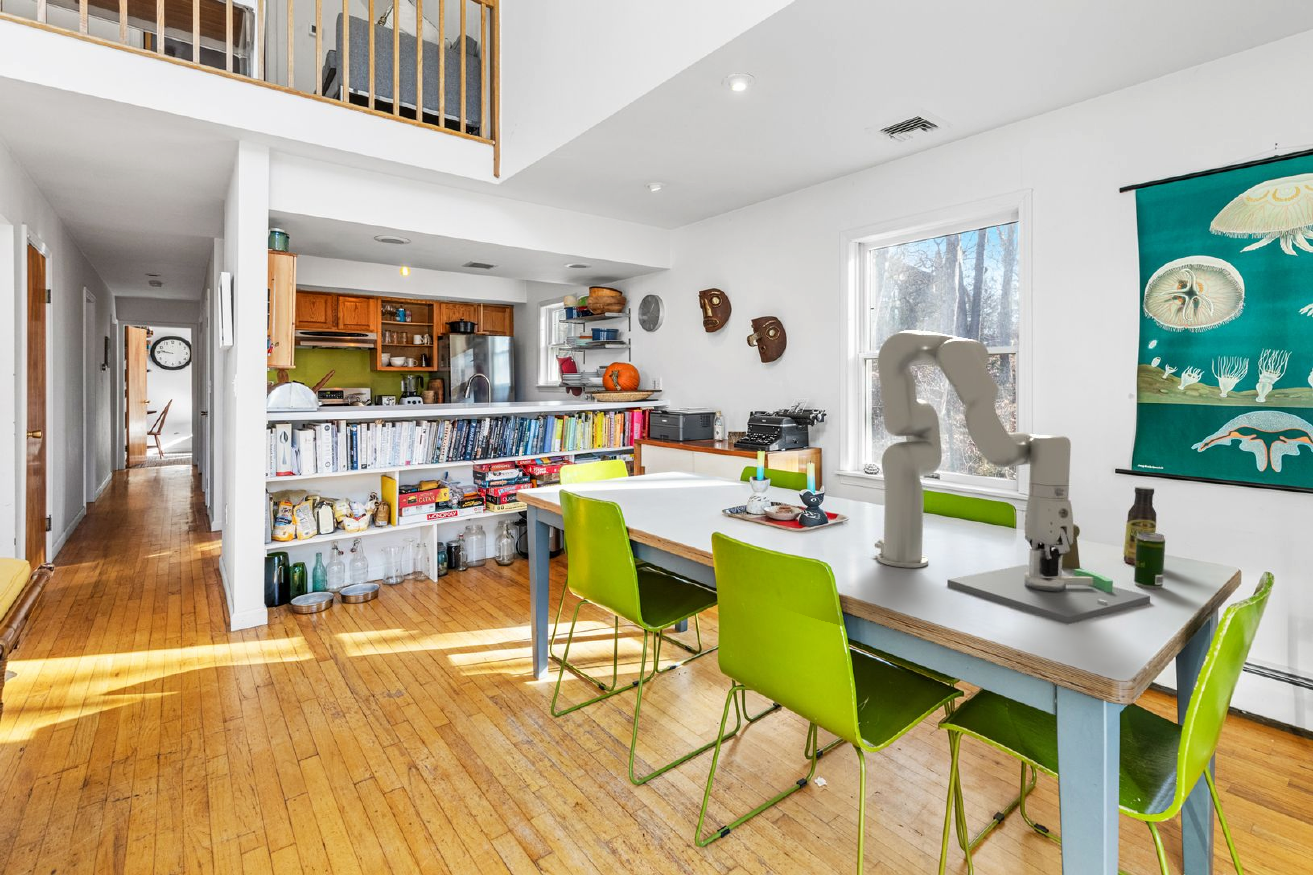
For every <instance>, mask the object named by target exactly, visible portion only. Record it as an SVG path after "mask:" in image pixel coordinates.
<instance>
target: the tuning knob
mask: <svg viewBox="0 0 1313 875" xmlns="http://www.w3.org/2000/svg"><path fill="white" fill-rule="evenodd" d="M1053 549H1054V548H1052V550H1053ZM1062 556H1063V554H1062V555H1061V558H1060V559H1059V566H1058V576H1053V577H1045V576H1043V560H1044V558H1046V549H1032V548H1029V562H1028V565H1029V572H1027V573H1025V574H1024V584H1025V585H1026V586H1028V587H1031V588H1034V589H1039V590H1045V591H1063V590H1065V589H1066V585H1093V578H1092V577H1074V576H1073V577H1071V576H1072V575H1069V576H1062V574H1063V572H1062V571H1063V568H1062Z"/></svg>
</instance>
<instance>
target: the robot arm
mask: <svg viewBox="0 0 1313 875" xmlns="http://www.w3.org/2000/svg"><path fill="white" fill-rule="evenodd" d="M989 353H990V352H989V350H988V349H987V347H986V346H985V344H984V343H982V342H980V341H978V340H976V339H968V338H963V337H957V336H953V335H947V334H943V333H937V332H932V331H921V330H920V331H919V330H903V331H900V332H899V331H898V332H896V333H894V334H893V335H891V336H890V337H888V338H887V339H886V340H885V341H884V343H883V344H882V346H881V347H880V349H879V352H878V356H877V369H878V377H879V382H880V390H881V391H880V392H881V404H882V406H881V407H882V417H883V418H882V419H883V424H884V425H883V426H884V428H885V430H886V431H887V433H888V434H889V435H891V436H894V437H905V439H906V440H905V441H899V442H896V443H893V444H891V445H890V446H888V447H887V448H886V449H885V450H884V452H883V454H882V458H881V468H882V475H883V484H884V510H883V512H884V513H883V514H884V516H883V517H884V519H883V520H884V521H883V539H879V540H877V542H875V543H874V547H875V548H876V549H880V553H878V554H877V555H876V559H877V561H878V562H880V563H881V564H883V565H887V566H891V567H897V568H905V569H906V568H909V569H912V568H921V567H922V568H923V567H926V566H928V565H929V559H928V558H927V557H926V556H925V555H923V537H924V534H923V531H924V530H923V528H924V526H923V525H924V489H923V486H922V485H923V484H922V481H921V478H920V477H925V476H929V475H932V474H934V473H935V472H937V470H939V468H940V467H941V466H940V465H941V463H942V457H943V456H942V454H943V453H942V452H943V451H942V442H941V432H940V421H939V420H940V419H939V416H938V413H937V411H936V409H935V407H934V406H933V404H931V403H929V402H927V401H926V400H923V399H918V397H917V389H916V388H917V386H916V385H917V384H916V380H915V377H914V375H913V373H912V371H911V366H912V365H917V366H918V365H919V366H920V365H921V366H922V365H923V366H932V367H937V368H940V370H941V372H942V373H943V375H944V376H945V378H946V379H947V382H948V383H949V384H950V386H951V388H952V390H953V391H954V392H955V394H956V397H958V399H959V401H960V403H961V405H962V406H963V412H964V413H963V414H964V415H963V416H964V420H965V425H966V429H967V431H968V434H969V437H971V440H972V441H973V443H974V445H975V446H976V448H977V449H978V451H979V452H980V454H981V456H982V457H983V458H984V459H985V460H986V461H987V463H989V464H991V465H992V466H994V467H998V468H1009V467H1016V466H1023V465H1024V466H1025V465H1029V482H1028V483H1029V484H1028V497H1027V502H1026V508H1025V513H1024V514H1025V515H1024V539H1025V540H1026V541H1027V542H1028V543H1029V546H1030V547H1031V549H1046V558H1044V560H1043V576H1045V577H1053V576H1058V566H1059V559H1060V558H1061V555H1062V554H1063V553H1066V552H1069V551H1070V548H1069V545H1072V543H1073V524H1074V513H1073V509H1072V508H1073V507H1072V504H1071V500H1069V494H1070V492H1069V491H1070V473H1071V472H1070V469H1071V448H1072V446H1071V444H1072V443H1071V440H1070V438H1069V437H1067V436H1064V435H1057V434H1056V435H1055V434H1054V435H1053V434H1040V435H1039V434H1032V433H1028V432H1020V431H1019V432H1008V431H1007V429H1006V428H1005V426H1004V425H1003V423H1002V422H1001V419H1000V418H999V415H998V413H997V410H996V399H997V396H998V394H999V390H1000V389H999V388H1000V387H999V385H998V384H997V383H996V381H995V379H994V378H993V377H992V375H991V374H990V373H989V371H988V369H987V368H986V367H987V365H988V364H989V360H990V354H989ZM1052 549H1053V550H1052Z"/></svg>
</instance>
